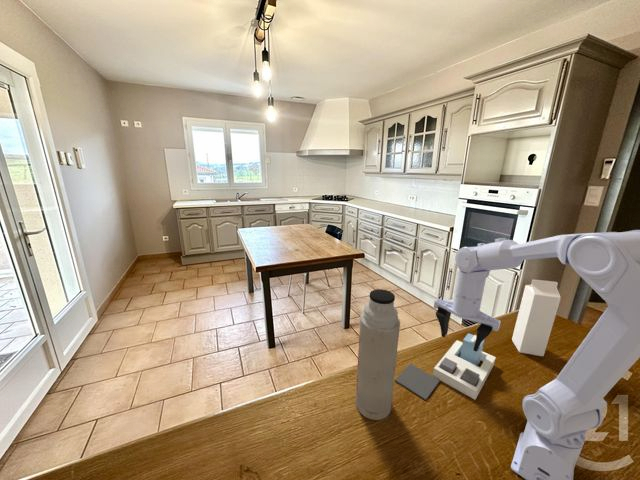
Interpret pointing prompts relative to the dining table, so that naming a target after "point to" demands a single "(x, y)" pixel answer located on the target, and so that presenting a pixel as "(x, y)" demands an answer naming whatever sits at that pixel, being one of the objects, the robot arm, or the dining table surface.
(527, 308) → the milk
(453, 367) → the plunger far
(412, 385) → the mat
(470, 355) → the block
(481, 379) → the housing
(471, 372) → the plunger near
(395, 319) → the thermos bottle
